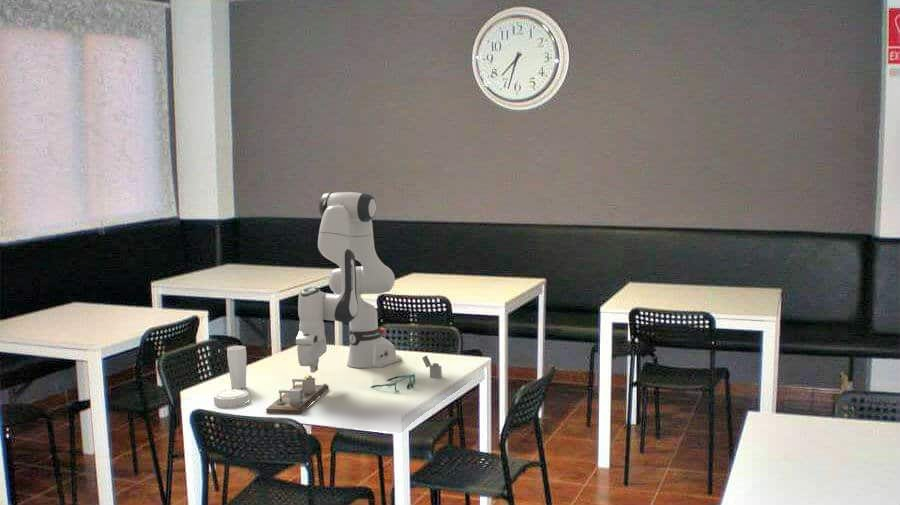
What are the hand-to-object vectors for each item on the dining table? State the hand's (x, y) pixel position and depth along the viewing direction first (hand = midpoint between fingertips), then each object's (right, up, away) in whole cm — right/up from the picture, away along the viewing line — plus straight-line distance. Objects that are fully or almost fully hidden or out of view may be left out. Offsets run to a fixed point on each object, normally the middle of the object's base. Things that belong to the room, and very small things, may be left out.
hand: (314, 371), depth 354 cm
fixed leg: (-3, -7, -11) cm, 13 cm away
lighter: (+42, -4, +16) cm, 45 cm away
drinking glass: (-29, -7, +9) cm, 31 cm away
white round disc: (-27, -10, -9) cm, 31 cm away
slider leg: (-3, -7, -7) cm, 10 cm away
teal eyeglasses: (+29, -6, +5) cm, 30 cm away
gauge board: (-4, -9, -10) cm, 14 cm away
